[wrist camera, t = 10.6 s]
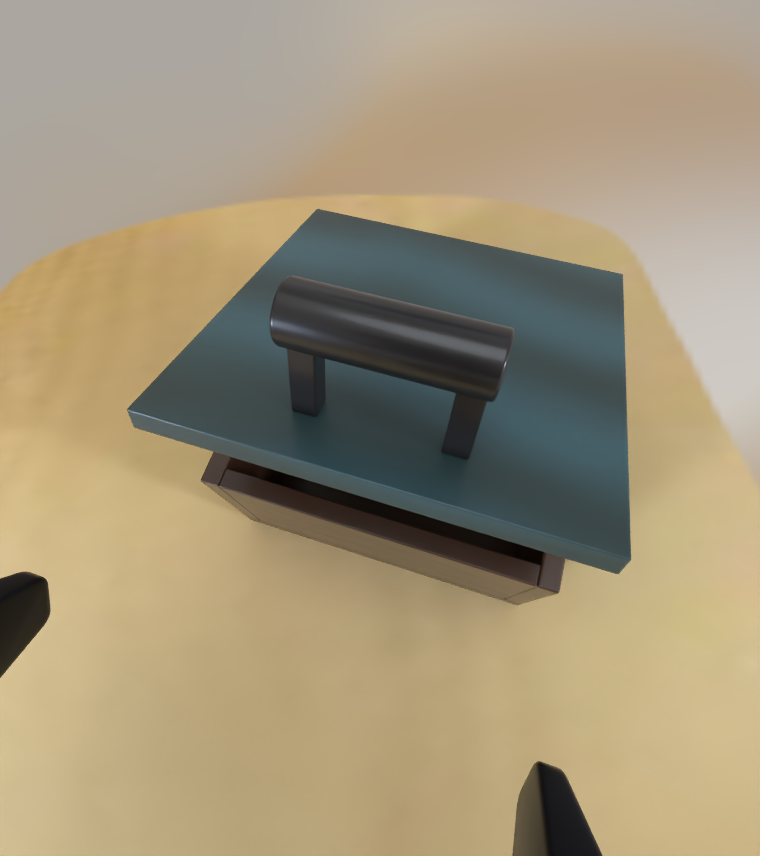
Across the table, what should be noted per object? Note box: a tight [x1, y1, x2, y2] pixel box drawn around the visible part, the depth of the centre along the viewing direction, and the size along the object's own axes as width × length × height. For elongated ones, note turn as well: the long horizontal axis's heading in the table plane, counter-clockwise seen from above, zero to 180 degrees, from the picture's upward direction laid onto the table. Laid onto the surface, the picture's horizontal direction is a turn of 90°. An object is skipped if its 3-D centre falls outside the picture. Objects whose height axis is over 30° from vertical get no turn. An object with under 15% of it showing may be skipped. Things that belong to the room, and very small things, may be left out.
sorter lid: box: [127, 209, 631, 574], centre depth 15 cm, size 13×12×4 cm
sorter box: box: [201, 452, 565, 605], centre depth 22 cm, size 12×12×6 cm
